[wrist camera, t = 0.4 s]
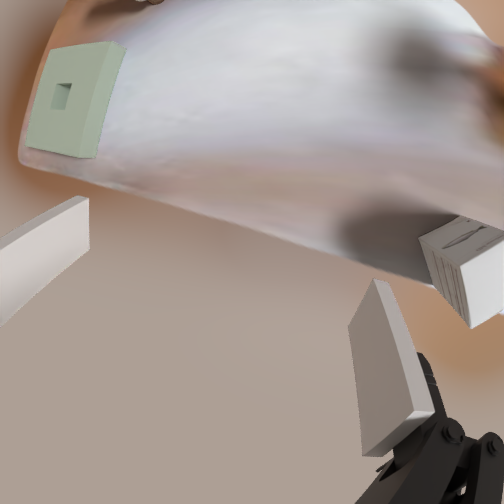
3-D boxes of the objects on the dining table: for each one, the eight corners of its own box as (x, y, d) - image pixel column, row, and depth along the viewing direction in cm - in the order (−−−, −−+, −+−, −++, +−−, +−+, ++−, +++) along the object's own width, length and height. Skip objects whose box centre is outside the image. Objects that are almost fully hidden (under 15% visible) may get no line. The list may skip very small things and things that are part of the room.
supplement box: (461, 213, 30) (516, 231, 18) (474, 264, 31) (524, 299, 19) (415, 236, 32) (459, 265, 20) (431, 286, 33) (471, 332, 21)
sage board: (65, 54, 35) (50, 49, 32) (126, 48, 33) (111, 40, 30) (40, 145, 41) (24, 146, 37) (95, 157, 39) (78, 157, 35)
